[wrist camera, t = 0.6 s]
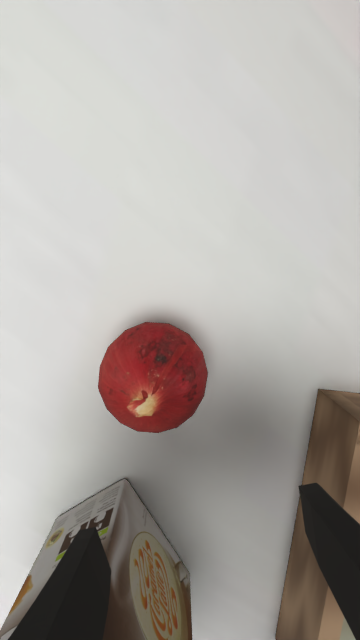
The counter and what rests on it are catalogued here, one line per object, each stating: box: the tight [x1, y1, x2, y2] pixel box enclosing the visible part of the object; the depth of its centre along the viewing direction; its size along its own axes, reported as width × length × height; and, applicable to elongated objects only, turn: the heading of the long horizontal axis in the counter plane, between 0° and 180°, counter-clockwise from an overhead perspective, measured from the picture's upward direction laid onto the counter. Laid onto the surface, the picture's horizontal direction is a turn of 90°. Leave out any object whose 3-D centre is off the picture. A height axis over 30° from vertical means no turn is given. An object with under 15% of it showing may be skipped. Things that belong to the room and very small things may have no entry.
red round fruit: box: [98, 322, 208, 433], centre depth 17 cm, size 6×6×8 cm
